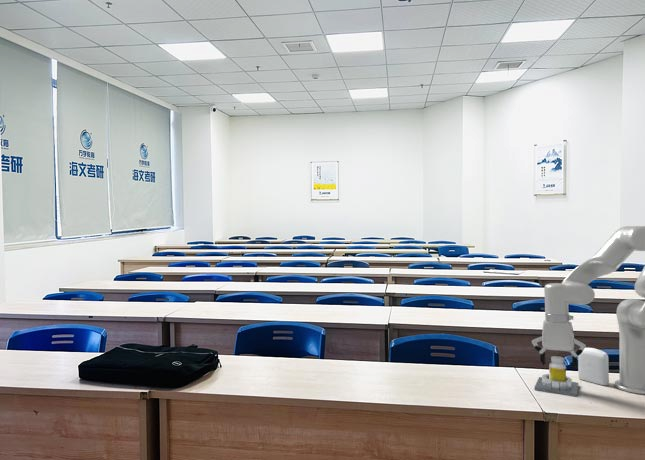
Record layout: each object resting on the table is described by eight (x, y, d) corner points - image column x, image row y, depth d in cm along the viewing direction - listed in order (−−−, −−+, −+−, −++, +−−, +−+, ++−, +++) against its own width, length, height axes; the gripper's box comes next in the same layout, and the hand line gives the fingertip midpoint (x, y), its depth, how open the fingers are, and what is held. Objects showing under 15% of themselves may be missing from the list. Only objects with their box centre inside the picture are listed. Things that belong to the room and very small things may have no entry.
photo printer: (576, 379, 177) (576, 346, 177) (582, 377, 179) (582, 344, 179) (604, 386, 168) (604, 352, 168) (610, 384, 171) (610, 350, 170)
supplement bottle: (568, 388, 164) (567, 360, 164) (551, 387, 165) (551, 359, 165) (563, 382, 170) (563, 355, 170) (547, 382, 171) (547, 355, 171)
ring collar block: (578, 385, 170) (578, 375, 170) (576, 396, 159) (576, 386, 159) (539, 379, 176) (539, 370, 176) (534, 389, 165) (534, 380, 165)
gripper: (585, 317, 166) (586, 366, 166) (532, 314, 175) (533, 360, 175) (584, 321, 160) (586, 371, 160) (529, 318, 169) (531, 365, 169)
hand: (558, 365), depth 167 cm, fingers open, 9 cm apart
